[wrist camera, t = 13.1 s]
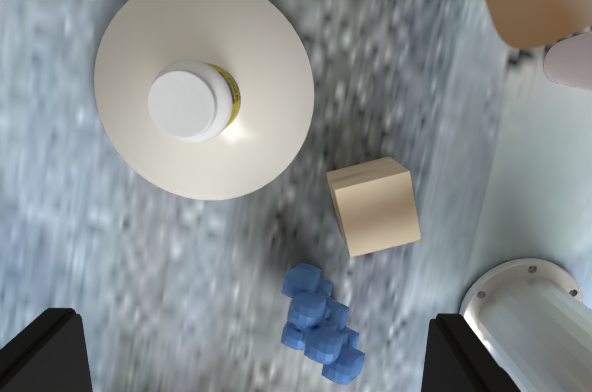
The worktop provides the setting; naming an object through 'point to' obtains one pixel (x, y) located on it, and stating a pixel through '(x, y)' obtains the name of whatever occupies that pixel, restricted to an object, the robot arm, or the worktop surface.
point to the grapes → (320, 325)
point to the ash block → (374, 205)
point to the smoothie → (571, 62)
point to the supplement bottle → (193, 100)
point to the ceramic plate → (221, 52)
